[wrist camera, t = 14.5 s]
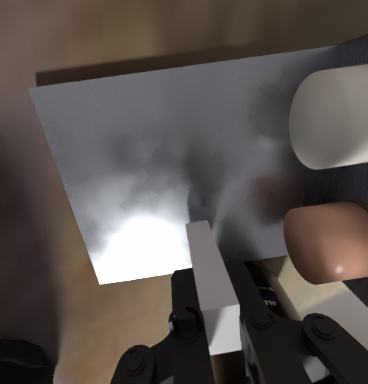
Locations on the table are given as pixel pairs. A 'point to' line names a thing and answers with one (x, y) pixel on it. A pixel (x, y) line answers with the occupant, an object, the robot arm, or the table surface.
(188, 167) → the mount
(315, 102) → the knob cream
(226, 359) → the supplement bottle
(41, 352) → the portable speaker
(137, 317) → the table surface
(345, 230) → the knob terracotta
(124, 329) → the table surface
